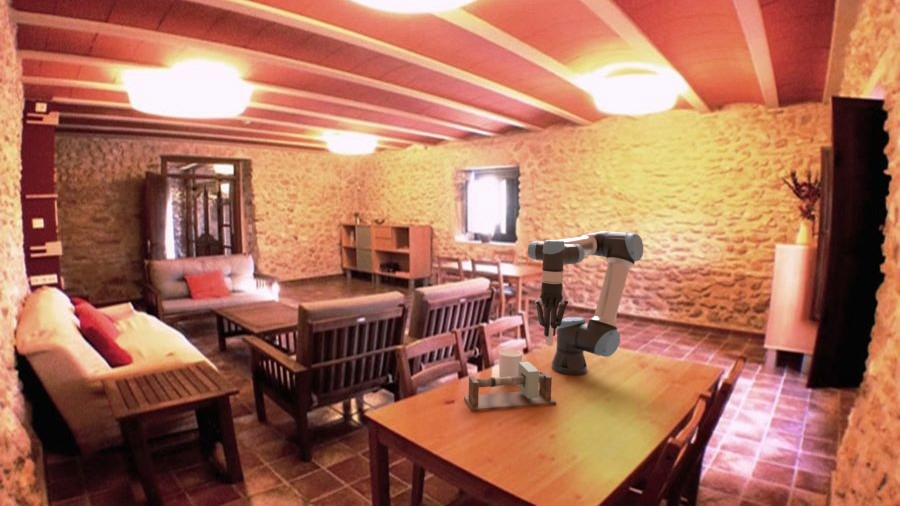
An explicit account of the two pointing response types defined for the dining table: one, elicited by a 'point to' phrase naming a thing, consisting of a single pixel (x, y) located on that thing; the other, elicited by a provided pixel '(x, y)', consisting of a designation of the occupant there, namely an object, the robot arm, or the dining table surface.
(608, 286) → the robot arm
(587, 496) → the dining table surface
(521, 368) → the collar
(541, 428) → the dining table surface
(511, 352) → the candle holder
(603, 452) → the dining table surface
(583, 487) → the dining table surface
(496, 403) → the dowel stand
